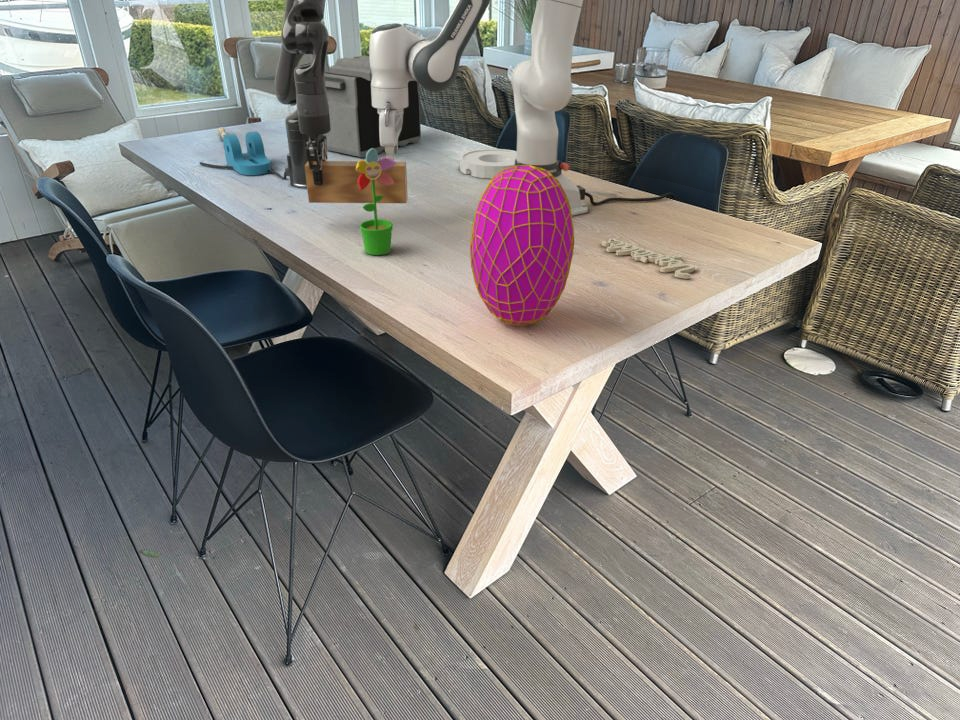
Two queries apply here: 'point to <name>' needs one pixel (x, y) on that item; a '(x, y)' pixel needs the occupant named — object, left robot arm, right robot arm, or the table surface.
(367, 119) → the electronic device
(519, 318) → the decorative egg
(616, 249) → the decorative sign
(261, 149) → the camera mount
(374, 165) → the potted flower
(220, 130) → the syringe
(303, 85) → the left robot arm
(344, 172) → the bar
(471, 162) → the ashtray
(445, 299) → the table surface
